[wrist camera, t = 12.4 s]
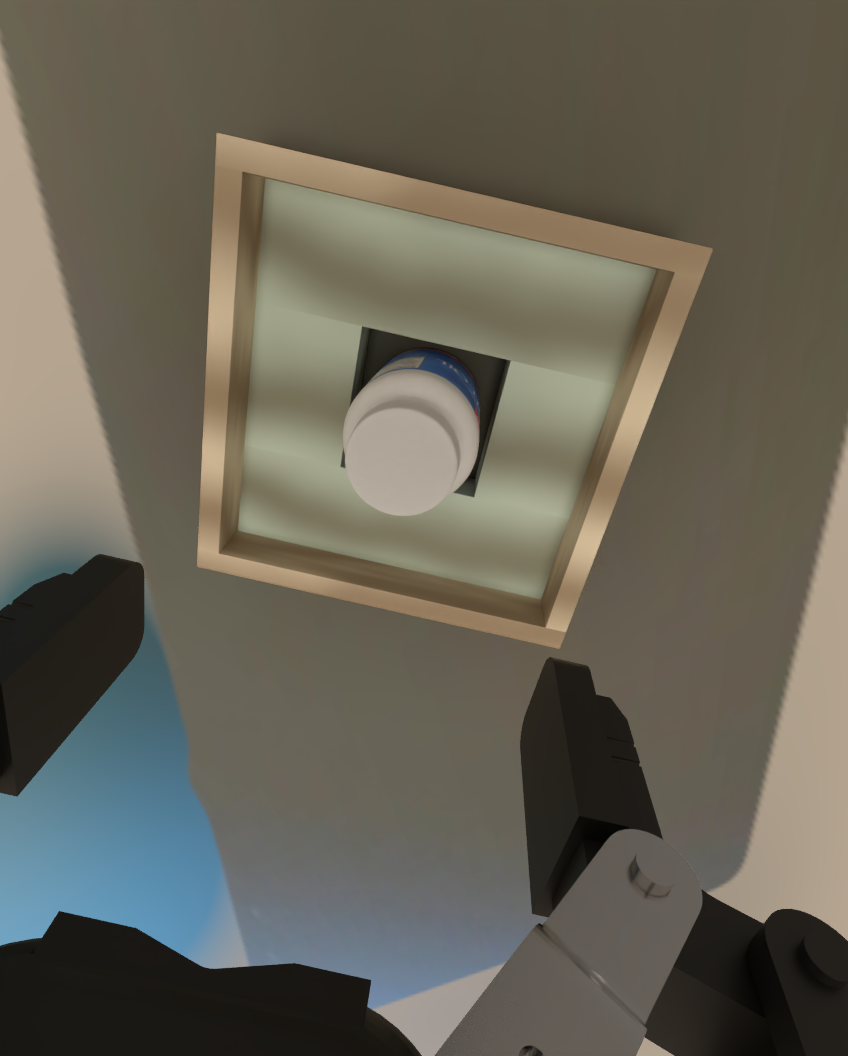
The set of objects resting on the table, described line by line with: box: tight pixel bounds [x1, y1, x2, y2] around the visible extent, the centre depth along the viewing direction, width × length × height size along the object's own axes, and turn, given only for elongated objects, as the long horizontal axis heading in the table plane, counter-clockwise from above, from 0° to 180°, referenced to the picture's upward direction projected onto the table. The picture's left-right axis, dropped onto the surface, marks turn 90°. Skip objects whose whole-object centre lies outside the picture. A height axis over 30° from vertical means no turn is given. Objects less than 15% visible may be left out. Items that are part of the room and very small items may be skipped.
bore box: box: [197, 133, 713, 649], centre depth 27 cm, size 18×18×5 cm
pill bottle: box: [343, 348, 480, 516], centre depth 25 cm, size 6×5×10 cm
